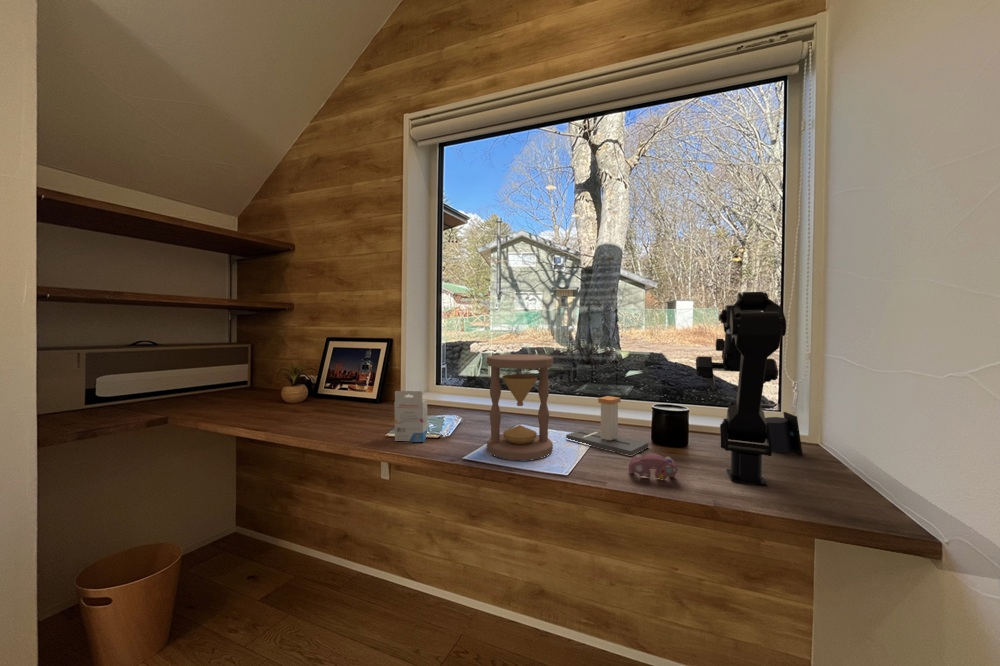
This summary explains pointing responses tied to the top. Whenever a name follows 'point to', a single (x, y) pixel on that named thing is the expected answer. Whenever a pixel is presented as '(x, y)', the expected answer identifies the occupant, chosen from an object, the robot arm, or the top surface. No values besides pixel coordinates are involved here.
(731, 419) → the robot arm
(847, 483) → the top surface
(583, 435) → the grey grooved tray
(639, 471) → the video game controller
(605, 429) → the fader knob
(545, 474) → the top surface
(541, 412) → the hourglass
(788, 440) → the speaker
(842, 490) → the top surface
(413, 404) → the ink box
